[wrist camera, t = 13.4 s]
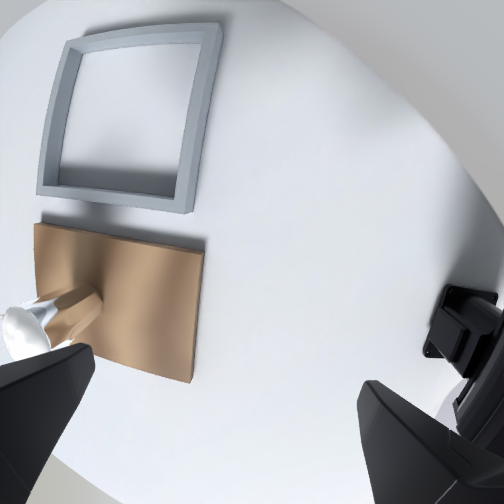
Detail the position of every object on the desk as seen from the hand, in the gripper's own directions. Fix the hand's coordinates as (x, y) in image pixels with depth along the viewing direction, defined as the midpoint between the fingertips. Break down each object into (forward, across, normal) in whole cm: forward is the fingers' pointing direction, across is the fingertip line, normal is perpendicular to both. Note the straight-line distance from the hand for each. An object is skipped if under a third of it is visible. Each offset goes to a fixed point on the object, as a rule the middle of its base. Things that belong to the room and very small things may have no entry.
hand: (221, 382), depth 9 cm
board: (+13, +11, +4) cm, 18 cm away
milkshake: (+13, +13, +4) cm, 19 cm away
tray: (+14, +11, -11) cm, 20 cm away
